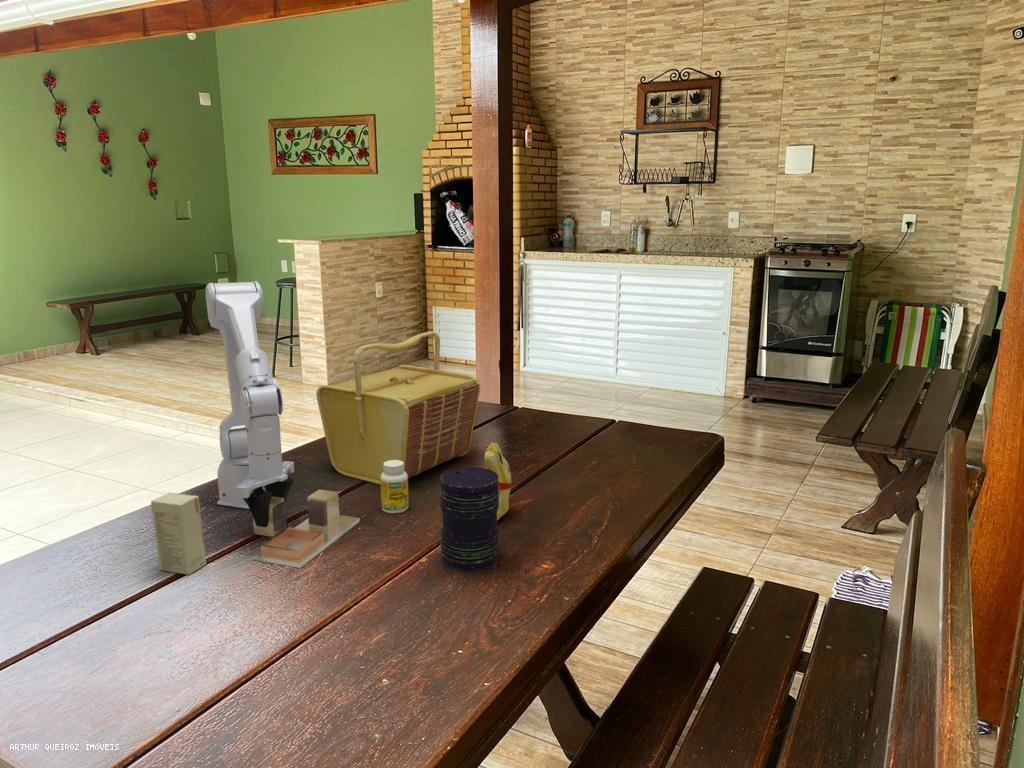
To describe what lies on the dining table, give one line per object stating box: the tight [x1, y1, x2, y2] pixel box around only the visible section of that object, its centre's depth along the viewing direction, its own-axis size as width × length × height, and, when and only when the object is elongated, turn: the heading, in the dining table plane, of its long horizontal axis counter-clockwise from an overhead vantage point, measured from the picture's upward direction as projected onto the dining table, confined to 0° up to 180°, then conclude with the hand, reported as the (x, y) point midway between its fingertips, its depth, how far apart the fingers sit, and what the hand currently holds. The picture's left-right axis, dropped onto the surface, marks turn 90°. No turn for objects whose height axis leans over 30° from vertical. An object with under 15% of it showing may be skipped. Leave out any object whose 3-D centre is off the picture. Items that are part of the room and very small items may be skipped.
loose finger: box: [252, 496, 288, 538], centre depth 139 cm, size 4×5×6 cm
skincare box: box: [150, 492, 207, 575], centre depth 124 cm, size 6×4×12 cm
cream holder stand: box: [253, 489, 360, 569], centre depth 135 cm, size 9×20×7 cm, turn 162°
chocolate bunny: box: [483, 442, 513, 521], centre depth 146 cm, size 7×11×15 cm, turn 155°
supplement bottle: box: [380, 460, 410, 514], centre depth 149 cm, size 5×5×10 cm
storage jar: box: [439, 466, 500, 574], centre depth 127 cm, size 10×10×15 cm
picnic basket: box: [315, 331, 481, 486], centre depth 172 cm, size 29×26×30 cm
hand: (269, 521), depth 139 cm, fingers closed on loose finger, 4 cm apart
